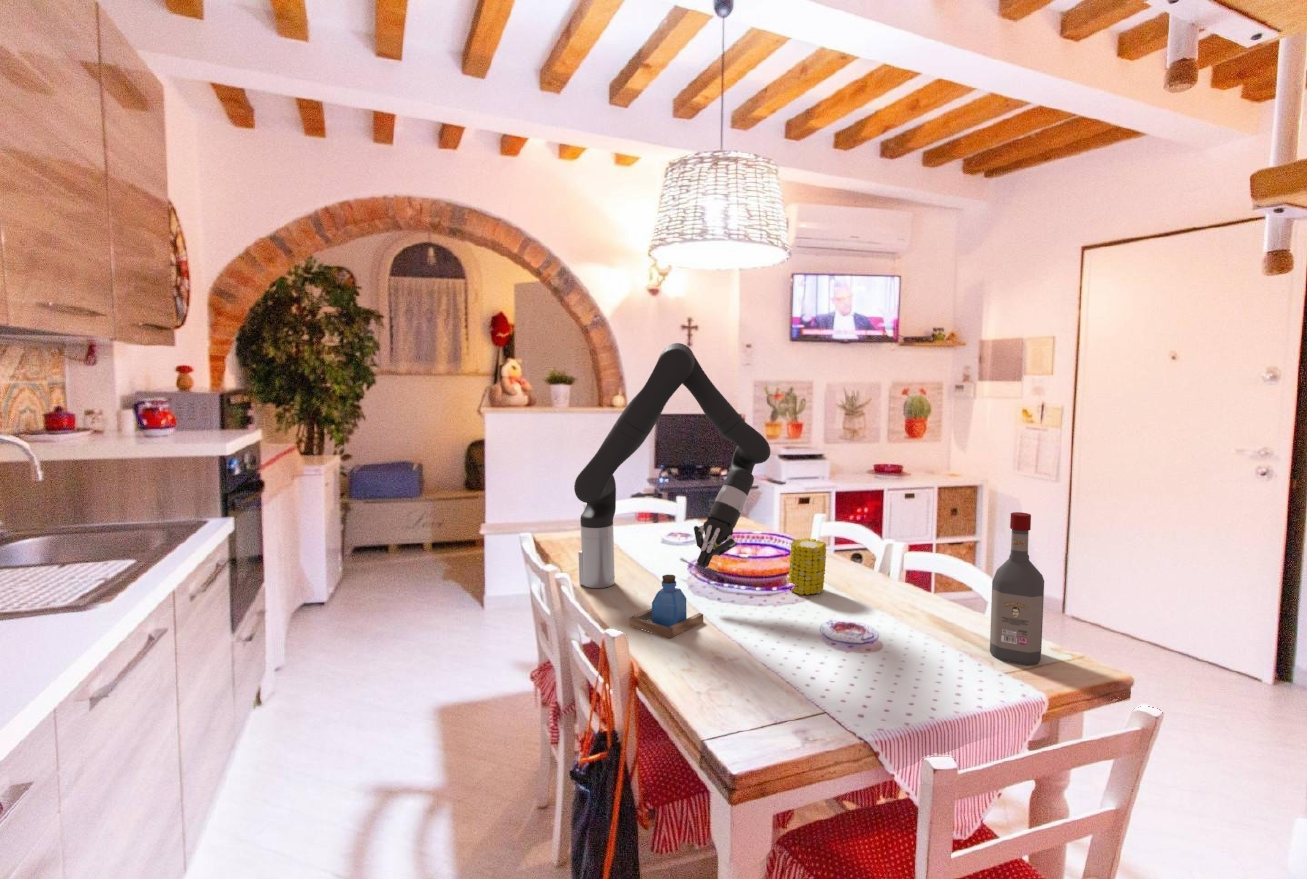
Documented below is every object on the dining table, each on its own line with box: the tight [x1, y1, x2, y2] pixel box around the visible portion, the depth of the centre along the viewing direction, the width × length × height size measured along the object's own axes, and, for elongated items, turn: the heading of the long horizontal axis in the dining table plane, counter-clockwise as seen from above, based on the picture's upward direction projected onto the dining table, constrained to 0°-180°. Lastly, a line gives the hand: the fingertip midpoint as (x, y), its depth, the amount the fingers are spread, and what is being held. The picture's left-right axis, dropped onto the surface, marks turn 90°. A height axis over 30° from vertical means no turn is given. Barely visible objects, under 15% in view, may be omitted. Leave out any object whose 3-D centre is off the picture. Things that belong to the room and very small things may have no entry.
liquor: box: [989, 511, 1045, 666], centre depth 140 cm, size 9×9×30 cm
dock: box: [628, 607, 704, 639], centre depth 163 cm, size 13×12×2 cm
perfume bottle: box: [651, 574, 688, 627], centre depth 161 cm, size 6×6×12 cm
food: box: [787, 537, 827, 596], centre depth 184 cm, size 15×12×10 cm
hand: (701, 566), depth 174 cm, fingers closed
